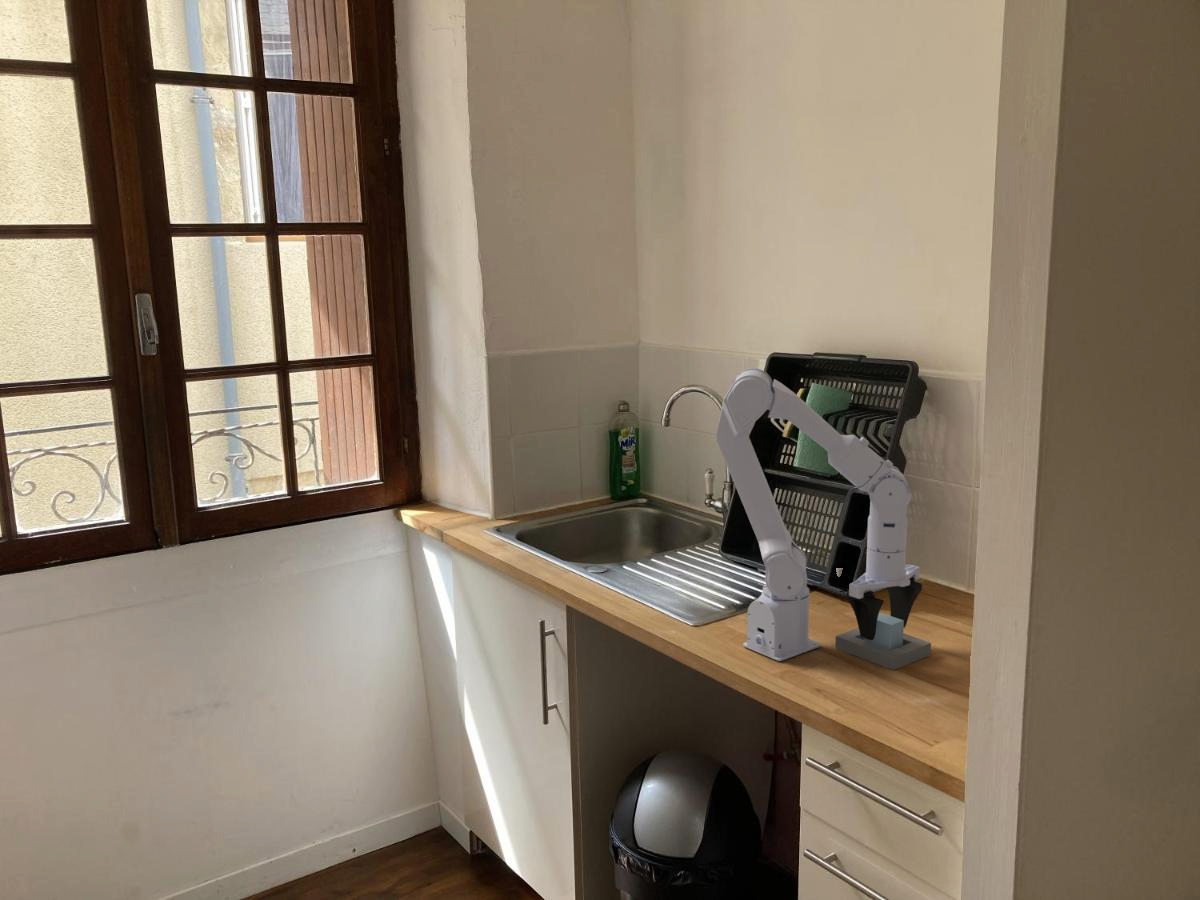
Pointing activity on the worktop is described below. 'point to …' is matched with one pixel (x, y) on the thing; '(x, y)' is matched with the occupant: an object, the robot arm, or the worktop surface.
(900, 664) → the grey slotted base
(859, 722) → the worktop surface
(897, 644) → the block
